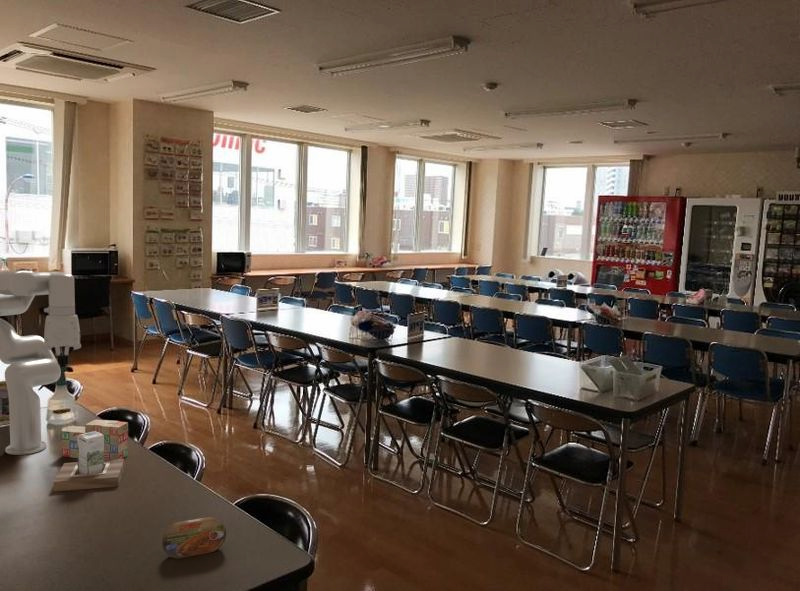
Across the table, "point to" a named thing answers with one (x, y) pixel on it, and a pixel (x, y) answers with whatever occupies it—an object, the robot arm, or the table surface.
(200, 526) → the tin
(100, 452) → the syrup box
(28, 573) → the table surface
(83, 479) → the socket board
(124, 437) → the stack of blocks
